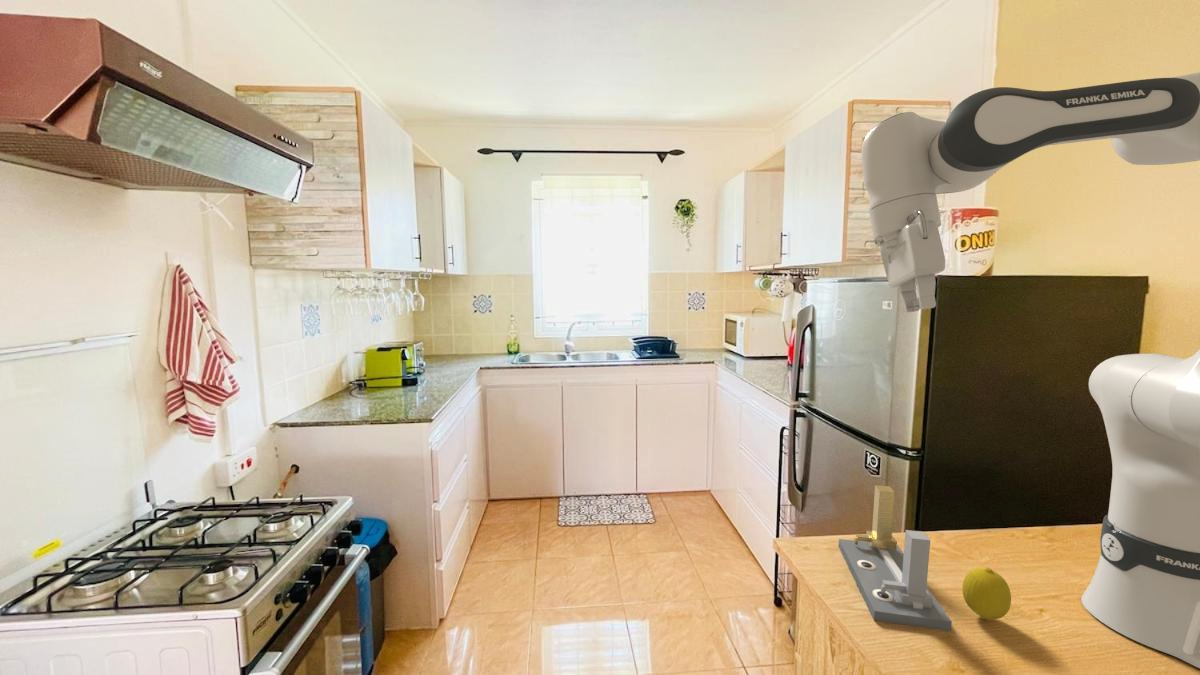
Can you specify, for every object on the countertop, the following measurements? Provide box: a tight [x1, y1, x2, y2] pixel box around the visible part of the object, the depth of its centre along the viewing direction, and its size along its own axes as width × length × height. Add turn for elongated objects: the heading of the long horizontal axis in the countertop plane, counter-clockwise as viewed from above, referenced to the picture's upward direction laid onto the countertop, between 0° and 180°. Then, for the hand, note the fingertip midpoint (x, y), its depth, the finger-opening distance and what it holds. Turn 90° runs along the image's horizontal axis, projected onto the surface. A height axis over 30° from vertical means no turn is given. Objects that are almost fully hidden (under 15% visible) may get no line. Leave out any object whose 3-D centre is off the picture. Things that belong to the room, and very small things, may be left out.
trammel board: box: [838, 529, 953, 632], centre depth 77 cm, size 10×20×12 cm, turn 167°
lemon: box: [962, 567, 1012, 620], centre depth 69 cm, size 6×6×8 cm
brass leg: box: [854, 484, 898, 550], centre depth 85 cm, size 6×3×11 cm, turn 77°
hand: (920, 310), depth 72 cm, fingers open, 8 cm apart
